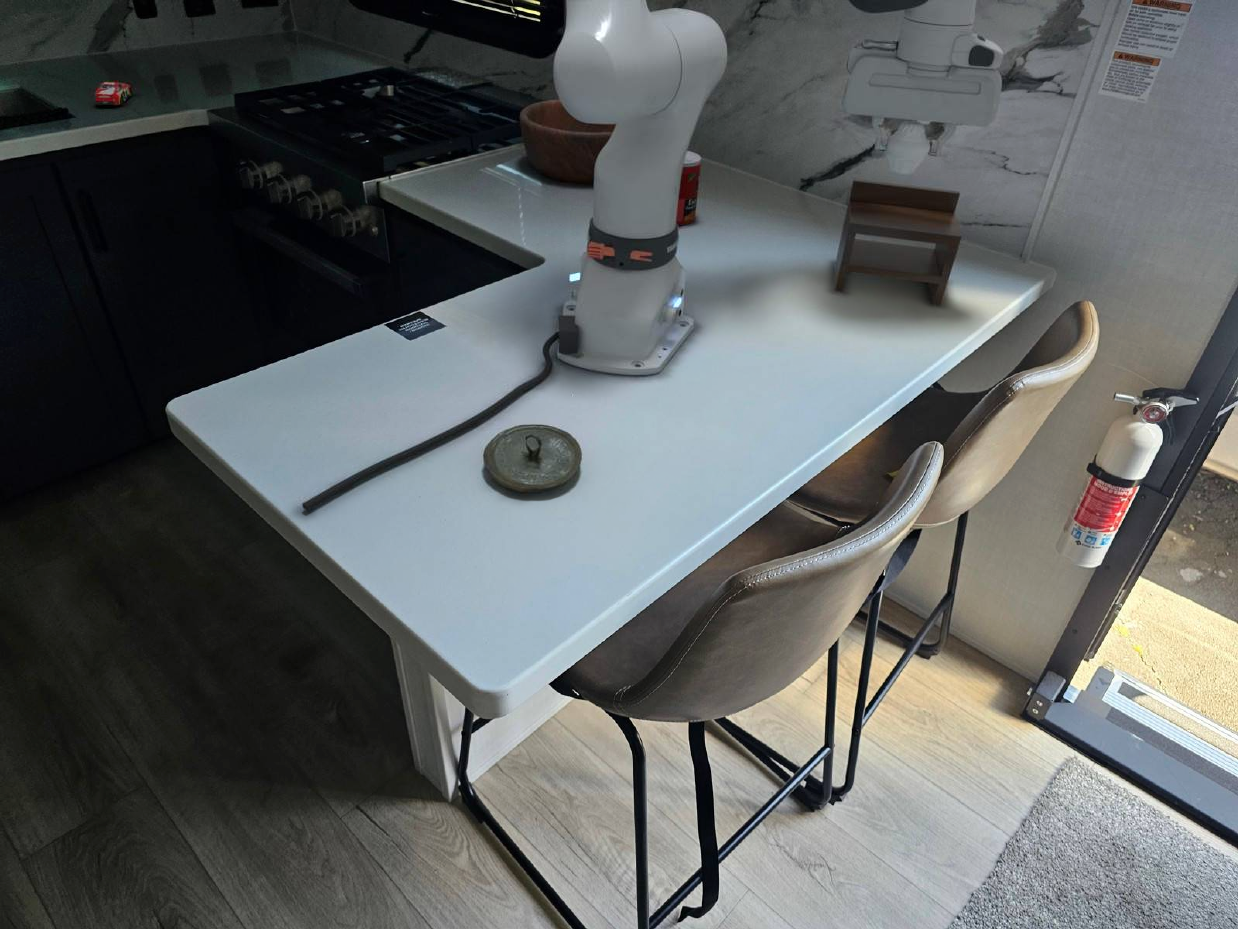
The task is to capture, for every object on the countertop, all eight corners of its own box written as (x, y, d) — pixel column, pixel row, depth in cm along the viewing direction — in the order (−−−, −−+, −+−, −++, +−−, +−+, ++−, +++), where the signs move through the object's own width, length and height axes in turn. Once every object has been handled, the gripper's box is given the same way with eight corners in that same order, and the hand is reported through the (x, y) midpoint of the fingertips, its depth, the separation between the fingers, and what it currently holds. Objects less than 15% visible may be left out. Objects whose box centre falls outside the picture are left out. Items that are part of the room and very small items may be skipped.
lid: (561, 445, 98) (555, 405, 96) (600, 475, 90) (594, 432, 88) (475, 472, 94) (467, 431, 92) (507, 505, 86) (499, 461, 84)
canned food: (692, 228, 150) (698, 165, 143) (647, 222, 151) (652, 159, 144) (697, 212, 156) (704, 151, 149) (654, 207, 157) (659, 146, 150)
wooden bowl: (601, 198, 159) (603, 142, 153) (495, 169, 169) (493, 115, 163) (665, 165, 176) (670, 113, 170) (566, 141, 186) (567, 91, 180)
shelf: (940, 305, 130) (967, 216, 121) (834, 291, 132) (854, 202, 124) (934, 276, 138) (959, 191, 130) (835, 263, 141) (853, 178, 132)
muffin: (871, 169, 121) (882, 118, 117) (893, 161, 125) (905, 111, 120) (910, 180, 118) (923, 128, 113) (932, 172, 121) (945, 120, 117)
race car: (111, 93, 198) (105, 74, 195) (136, 93, 199) (131, 75, 196) (93, 108, 187) (87, 89, 185) (119, 108, 188) (114, 89, 186)
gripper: (852, 42, 110) (831, 151, 118) (1016, 55, 107) (984, 166, 116) (851, 33, 115) (832, 138, 123) (1008, 46, 112) (978, 152, 121)
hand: (906, 152), depth 119 cm, fingers closed on muffin, 6 cm apart
